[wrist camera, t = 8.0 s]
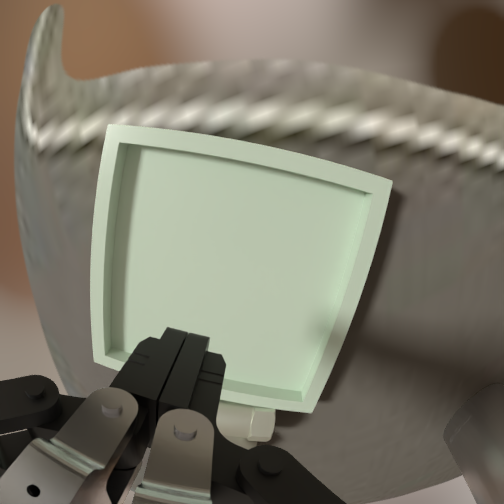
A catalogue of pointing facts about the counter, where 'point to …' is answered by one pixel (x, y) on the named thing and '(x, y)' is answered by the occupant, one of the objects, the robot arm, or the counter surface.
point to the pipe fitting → (245, 423)
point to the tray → (231, 256)
